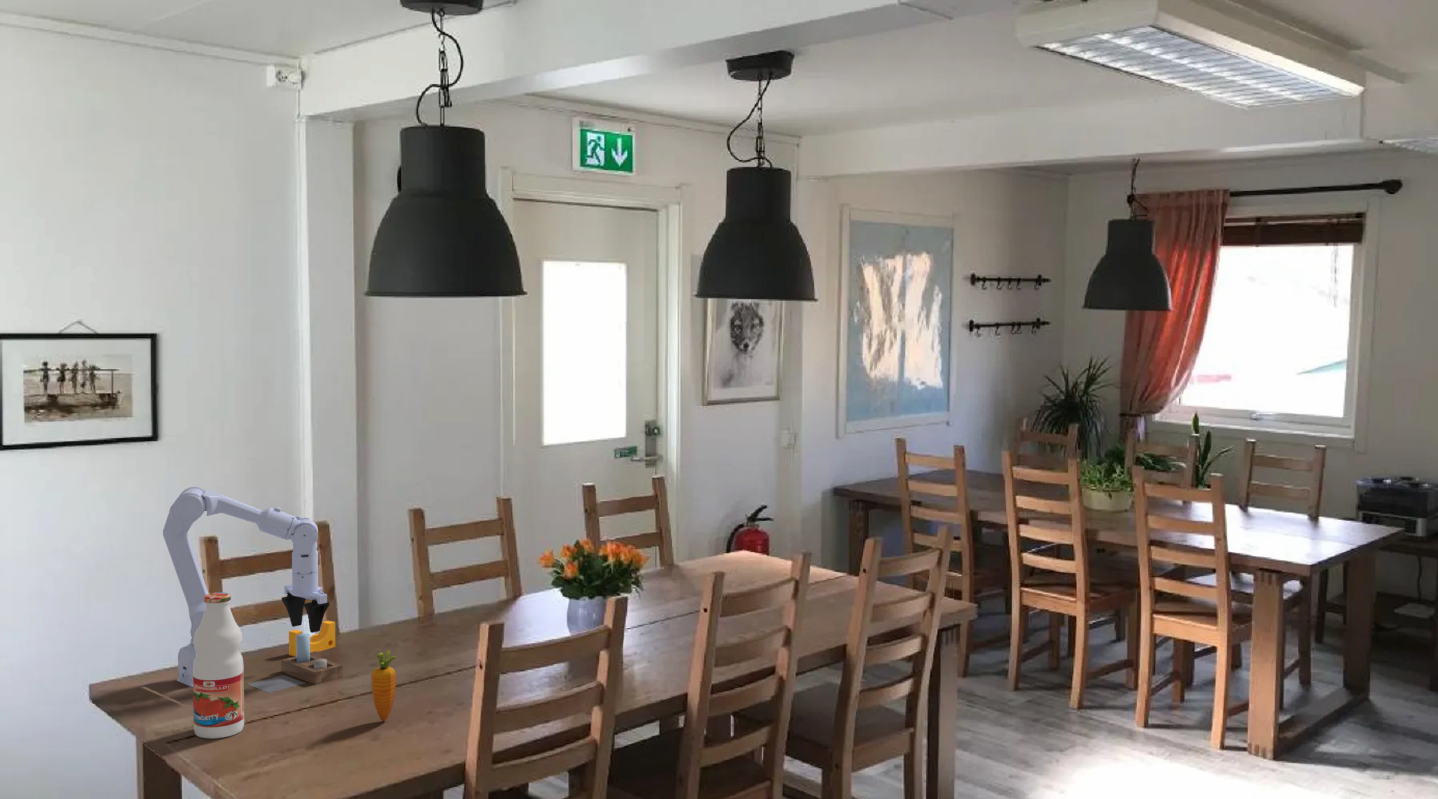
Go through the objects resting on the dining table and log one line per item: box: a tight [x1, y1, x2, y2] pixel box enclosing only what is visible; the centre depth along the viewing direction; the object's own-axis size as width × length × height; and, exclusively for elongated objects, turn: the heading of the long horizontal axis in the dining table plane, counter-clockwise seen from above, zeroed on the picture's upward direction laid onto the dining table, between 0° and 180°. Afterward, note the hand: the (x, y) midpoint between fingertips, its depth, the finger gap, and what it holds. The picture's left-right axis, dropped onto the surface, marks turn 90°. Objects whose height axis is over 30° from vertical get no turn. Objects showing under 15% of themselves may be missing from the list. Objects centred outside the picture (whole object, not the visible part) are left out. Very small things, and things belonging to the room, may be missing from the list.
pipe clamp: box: [288, 620, 336, 657], centre depth 292 cm, size 12×4×6 cm, turn 149°
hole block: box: [280, 653, 344, 686], centre depth 272 cm, size 7×14×4 cm, turn 52°
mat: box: [247, 674, 306, 694], centre depth 265 cm, size 9×9×1 cm
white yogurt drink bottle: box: [192, 591, 245, 740], centre depth 236 cm, size 9×9×28 cm
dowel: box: [296, 633, 311, 663], centre depth 274 cm, size 3×3×9 cm
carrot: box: [371, 650, 397, 723], centre depth 244 cm, size 5×5×15 cm
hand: (305, 628), depth 274 cm, fingers open, 7 cm apart
